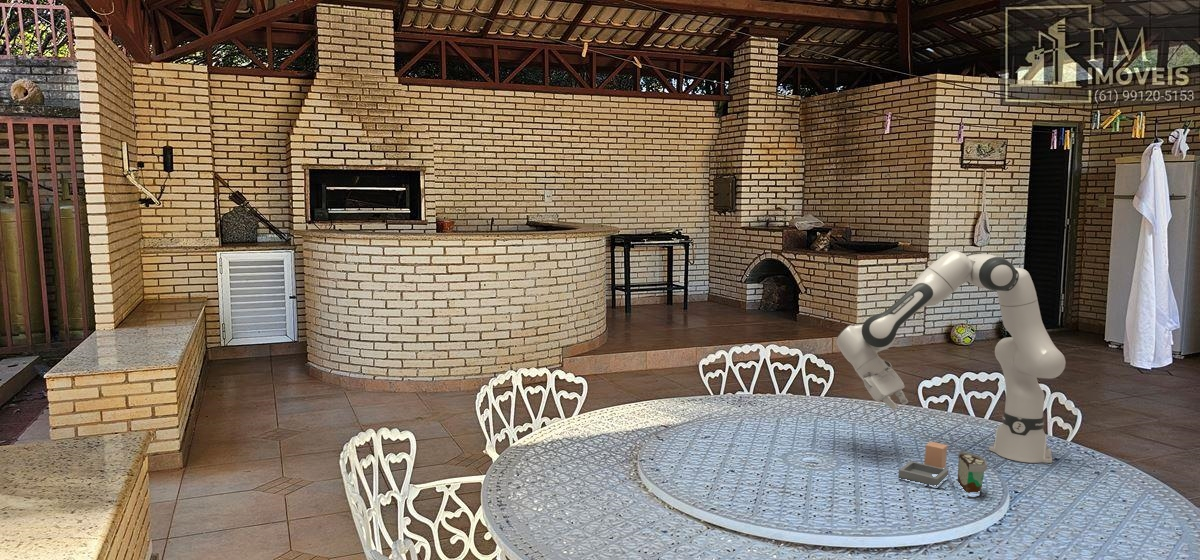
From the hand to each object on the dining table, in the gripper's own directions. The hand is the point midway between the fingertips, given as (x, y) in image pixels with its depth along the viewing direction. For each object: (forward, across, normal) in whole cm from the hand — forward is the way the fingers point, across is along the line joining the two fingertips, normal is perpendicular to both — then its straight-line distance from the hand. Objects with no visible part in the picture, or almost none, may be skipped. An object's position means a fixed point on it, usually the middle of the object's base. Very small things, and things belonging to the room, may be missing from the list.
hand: (901, 406), depth 245 cm
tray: (+21, -11, +4) cm, 24 cm away
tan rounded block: (+21, 0, +4) cm, 21 cm away
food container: (+31, -12, -5) cm, 34 cm away
